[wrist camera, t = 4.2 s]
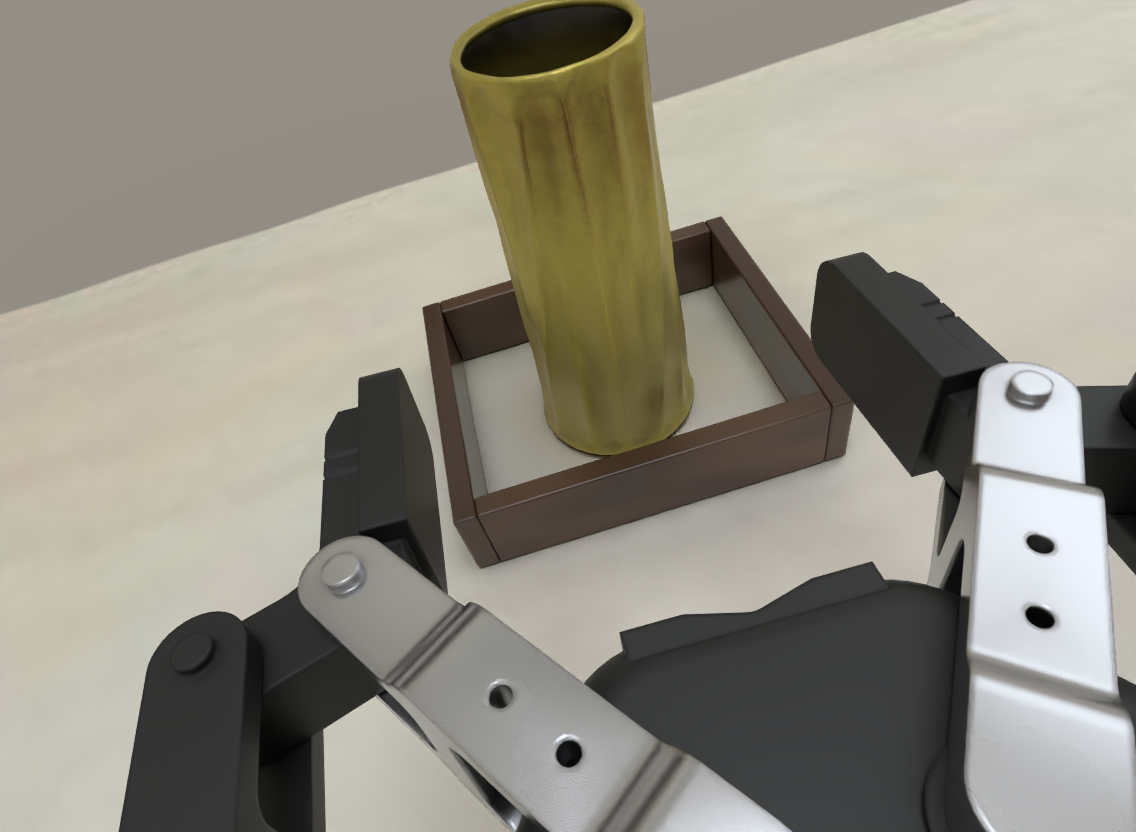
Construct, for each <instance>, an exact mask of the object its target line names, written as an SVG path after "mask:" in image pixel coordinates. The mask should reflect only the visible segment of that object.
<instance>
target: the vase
mask: <svg viewBox="0 0 1136 832" xmlns="http://www.w3.org/2000/svg"><path fill="white" fill-rule="evenodd" d="M646 48H647V47H646V39H645V16H644V11H643V10H642V8H641V7H640V6H639V5H638V4H637V3H636V2H635V1H633V0H530V1H526V2H523V3H520V4H517V5H514V6H511V7H508V8H506V9H503V10H501V11H499V12H496V13H494V14H492V15H490V16H489V17H487V18H485V19H483V20H482V21H480V22H478V23H476V24H475V25H473V26H472V27H470V28H469V29H468V30H466V31H465V32H464V33H463V34H462V35H461V36H460V37H459V38H458V39H457V41H456V42H455V45H454V46H453V49H452V52H451V55H450V68H451V73H452V77H453V81H454V84H455V87H456V90H457V93H458V97H459V99H460V103H461V107H462V111H463V114H464V117H465V121H466V124H467V128H468V132H469V135H470V138H471V142H472V145H473V149H474V152H475V156H476V159H477V162H478V166H479V169H480V172H481V176H482V179H483V182H484V186H485V189H486V192H487V195H488V198H489V201H490V204H491V207H492V210H493V212H494V215H495V219H496V222H497V225H498V229H499V234H500V238H501V242H502V246H503V250H504V254H505V258H506V262H507V265H508V269H509V273H510V277H511V280H512V284H513V287H514V291H515V295H516V298H517V302H518V306H519V310H520V313H521V317H522V320H523V323H524V327H525V330H526V333H527V336H528V338H529V341H530V345H531V348H532V351H533V355H534V359H535V363H536V367H537V371H538V375H539V379H540V382H541V386H542V391H543V397H544V405H545V416H546V419H547V422H548V423H549V425H550V427H551V429H552V430H553V431H554V433H555V434H556V435H557V436H558V437H559V438H560V439H561V440H563V441H564V442H565V443H567V444H568V445H570V446H572V447H574V448H576V449H578V450H581V451H584V452H587V453H592V454H599V455H616V454H619V453H623V452H626V451H629V450H632V449H636V448H639V447H642V446H645V445H649V444H652V443H655V442H658V441H662V440H664V439H666V438H667V437H669V436H670V435H671V434H672V433H673V432H675V431H676V430H677V429H678V428H679V426H680V425H681V424H682V423H683V421H684V420H685V418H686V417H687V415H688V413H689V411H690V408H691V405H692V401H693V380H692V377H691V375H690V373H689V370H688V365H687V349H686V338H685V329H684V321H683V315H682V308H681V302H680V296H679V290H678V285H677V279H676V273H675V268H674V258H673V247H672V239H671V234H670V228H669V221H668V213H667V205H666V198H665V192H664V186H663V180H662V174H661V167H660V160H659V153H658V146H657V139H656V132H655V124H654V116H653V107H652V97H651V86H650V76H649V66H648V57H647V49H646Z"/></svg>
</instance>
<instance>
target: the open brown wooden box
mask: <svg viewBox="0 0 1136 832" xmlns="http://www.w3.org/2000/svg"><path fill="white" fill-rule="evenodd" d="M670 234H671V239H672V247H673V258H674V268H675V273H676V279H677V285H678V290H679V295H680V294H683V293H687V292H690V291H693V290H697V289H700V288H703V287H706V286H710V285H712V283H713V284H714V286H715V287H716V289H717V291H718V292H719V294H720V295H721V297H722V298H723V300H724V302H725V303H726V305H727V306H728V308H729V310H730V311H731V313H732V314H733V316H734V317H735V319H736V321H737V322H738V324H739V325H740V327H741V329H742V330H743V332H744V333H745V335H746V336H747V338H748V340H749V341H750V343H751V344H752V346H753V348H754V349H755V351H756V352H757V354H758V355H759V357H760V359H761V360H762V362H763V363H764V365H765V367H766V368H767V370H768V371H769V373H770V374H771V376H772V378H773V379H774V381H775V382H776V384H777V386H778V387H779V389H780V390H781V392H782V393H783V395H784V397H785V398H786V400H787V401H788V402H785V403H781V404H778V405H775V406H772V407H768V408H765V409H762V410H759V411H756V412H752V413H749V414H746V415H743V416H739V417H736V418H733V419H730V420H726V421H723V422H720V423H717V424H713V425H710V426H707V427H704V428H700V429H697V430H694V431H691V432H687V433H684V434H681V435H678V436H675V437H671V438H668V439H665V440H662V441H658V442H655V443H652V444H649V445H645V446H642V447H639V448H636V449H632V450H629V451H626V452H623V453H619V454H616V455H613V456H610V457H606V458H603V459H600V460H597V461H594V462H590V463H587V464H584V465H581V466H577V467H574V468H571V469H568V470H564V471H561V472H558V473H555V474H551V475H548V476H545V477H542V478H538V479H535V480H532V481H529V482H525V483H522V484H519V485H516V486H513V487H509V488H506V489H503V490H500V491H496V492H493V493H490V494H487V489H486V483H485V478H484V473H483V468H482V463H481V457H480V452H479V447H478V442H477V436H476V431H475V426H474V421H473V415H472V410H471V405H470V400H469V395H468V389H467V384H466V379H465V374H464V368H463V363H462V360H463V361H464V360H468V359H471V358H474V357H477V356H481V355H484V354H487V353H491V352H494V351H497V350H500V349H504V348H507V347H510V346H513V345H517V344H520V343H523V342H526V341H529V338H528V336H527V333H526V330H525V327H524V323H523V320H522V317H521V313H520V310H519V306H518V302H517V298H516V295H515V291H514V287H513V284H512V280H510V281H507V282H503V283H500V284H497V285H494V286H490V287H487V288H484V289H480V290H477V291H474V292H471V293H467V294H464V295H461V296H457V297H454V298H451V299H448V300H444V301H441V302H440V303H439V302H438V303H434V304H431V305H428V306H425V307H423V316H424V323H425V330H426V337H427V344H428V351H429V358H430V364H431V371H432V378H433V385H434V392H435V399H436V406H437V413H438V420H439V427H440V434H441V441H442V448H443V455H444V462H445V469H446V476H447V482H448V489H449V496H450V503H451V510H452V517H453V524H454V525H455V527H456V529H457V531H458V532H459V534H460V536H461V537H462V539H463V541H464V543H465V544H466V546H467V548H468V549H469V551H470V553H471V554H472V556H473V558H474V560H475V561H476V563H477V565H478V566H479V567H480V568H482V567H485V566H488V565H491V564H495V563H498V562H500V560H501V561H504V560H508V559H511V558H514V557H517V556H520V555H524V554H527V553H530V552H533V551H537V550H540V549H543V548H546V547H550V546H553V545H556V544H559V543H562V542H566V541H569V540H572V539H575V538H579V537H582V536H585V535H588V534H591V533H595V532H598V531H601V530H604V529H608V528H611V527H614V526H617V525H620V524H624V523H627V522H630V521H633V520H637V519H640V518H643V517H646V516H649V515H653V514H656V513H659V512H662V511H666V510H669V509H672V508H675V507H678V506H682V505H685V504H688V503H691V502H695V501H698V500H701V499H704V498H708V497H711V496H714V495H717V494H720V493H724V492H727V491H730V490H733V489H737V488H740V487H743V486H746V485H749V484H753V483H756V482H759V481H762V480H766V479H769V478H772V477H775V476H778V475H782V474H785V473H788V472H791V471H795V470H798V469H801V468H804V467H807V466H811V465H814V464H817V463H820V462H823V461H824V460H830V459H833V458H836V457H839V456H843V455H844V454H845V452H846V447H847V441H848V436H849V430H850V424H851V419H852V413H853V408H854V403H853V401H852V400H851V399H850V398H849V396H848V395H847V394H846V392H845V391H844V390H843V389H842V387H841V386H840V385H839V384H838V382H837V381H836V380H835V378H834V377H833V376H832V375H831V373H830V372H829V371H828V369H827V368H826V367H825V366H824V364H823V363H822V362H821V361H820V359H819V358H818V356H817V354H816V352H815V350H814V347H813V344H812V340H811V339H810V338H809V336H808V335H807V333H806V332H805V331H804V329H803V328H802V327H801V325H800V324H799V322H798V321H797V320H796V318H795V317H794V316H793V314H792V313H791V311H790V310H789V309H788V307H787V306H786V305H785V303H784V302H783V300H782V299H781V298H780V296H779V295H778V294H777V292H776V291H775V289H774V288H773V287H772V285H771V284H770V282H769V281H768V280H767V278H766V277H765V276H764V274H763V273H762V271H761V270H760V269H759V267H758V266H757V265H756V263H755V262H754V260H753V259H752V258H751V256H750V255H749V254H748V252H747V251H746V249H745V248H744V247H743V245H742V244H741V243H740V241H739V240H738V238H737V237H736V236H735V234H734V233H733V232H732V230H731V229H730V227H729V226H728V225H727V223H726V222H725V221H724V219H723V218H722V217H717V218H714V219H711V220H707V221H705V222H700V223H697V224H694V225H691V226H687V227H684V228H681V229H677V230H674V231H671V232H670Z"/></svg>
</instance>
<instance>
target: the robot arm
mask: <svg viewBox="0 0 1136 832" xmlns="http://www.w3.org/2000/svg"><path fill="white" fill-rule="evenodd" d="M811 339H812V344H813V347H814V350H815V352H816V354H817V356H818V358H819V359H820V361H821V362H822V363H823V364H824V366H825V367H826V368H827V369H828V371H829V372H830V373H831V375H832V376H833V377H834V378H835V380H836V381H837V382H838V384H839V385H840V386H841V387H842V389H843V390H844V391H845V392H846V394H847V395H848V396H849V398H850V399H851V400H852V401H853V403H854V404H855V405H856V406H857V408H858V409H859V410H860V412H861V413H862V414H863V415H864V417H865V418H866V419H867V420H868V422H869V423H870V424H871V426H872V427H873V428H874V429H875V431H876V432H877V433H878V434H879V436H880V437H881V438H882V440H883V441H884V442H885V443H886V445H887V446H888V447H889V448H890V450H891V451H892V452H893V454H894V455H895V456H896V457H897V459H898V460H899V461H900V463H901V464H902V465H903V466H904V468H905V469H906V470H907V471H908V473H909V474H910V475H911V477H914V476H917V475H921V474H925V473H928V472H932V471H936V470H937V471H938V472H939V473H940V474H941V475H942V477H943V478H944V479H943V482H942V485H941V488H940V493H939V502H938V510H937V518H936V526H935V535H934V543H933V551H932V559H931V567H930V573H929V578H928V582H927V585H926V584H921V583H915V582H910V581H900V580H884V579H883V577H882V576H881V574H880V573H879V571H878V570H877V568H876V566H875V565H874V563H873V562H869V563H865V564H861V565H858V566H854V567H851V568H847V569H844V570H840V571H836V572H833V573H829V574H826V575H822V576H819V577H815V578H811V579H810V580H808V581H806V582H805V583H803V584H801V585H800V586H798V587H796V588H794V589H793V590H791V591H789V592H788V593H786V594H784V595H783V596H781V597H779V598H778V599H776V600H774V601H773V602H771V603H769V604H768V605H766V606H764V607H762V608H761V609H759V610H757V611H753V612H744V613H715V614H685V615H679V616H676V617H672V618H669V619H665V620H662V621H658V622H654V623H651V624H647V625H644V626H640V627H637V628H633V629H629V630H626V631H622V632H620V638H621V643H622V648H623V651H622V652H621V653H619V654H617V655H616V656H614V657H612V658H611V659H609V660H608V661H607V662H606V663H604V664H603V665H602V666H600V667H599V668H598V669H597V670H596V671H595V672H594V673H593V674H592V675H591V676H590V677H589V678H588V679H587V680H586V682H585V683H583V682H581V681H580V680H579V679H577V678H576V677H575V676H573V675H572V674H571V673H569V672H568V671H567V670H565V669H564V668H563V667H561V666H560V665H559V664H557V663H556V662H555V661H553V660H552V659H551V658H549V657H548V656H547V655H545V654H544V653H543V652H542V651H540V650H539V649H538V648H536V647H535V646H534V645H532V644H531V643H530V642H528V641H527V640H526V639H524V638H523V637H522V636H520V635H519V634H518V633H516V632H515V631H514V630H512V629H511V628H510V627H508V626H507V625H506V624H504V623H503V622H502V621H501V620H499V619H498V618H497V617H495V616H494V615H493V614H491V613H490V612H489V611H487V610H486V609H484V608H483V607H481V606H480V605H478V604H476V603H473V602H469V603H468V604H467V605H466V606H464V605H461V604H460V603H458V602H457V601H455V600H454V599H453V598H451V597H450V596H449V595H448V591H447V581H446V572H445V563H444V554H443V544H442V535H441V526H440V517H439V507H438V498H437V489H436V480H435V471H434V461H433V454H432V449H431V444H430V441H429V437H428V434H427V430H426V428H425V425H424V423H423V420H422V418H421V415H420V413H419V410H418V408H417V405H416V403H415V401H414V398H413V396H412V393H411V391H410V388H409V386H408V383H407V381H406V379H405V376H404V374H403V372H402V370H401V369H400V368H396V369H392V370H388V371H384V372H380V373H376V374H372V375H368V376H365V377H361V378H359V382H358V407H356V408H352V409H348V410H344V411H340V412H338V413H337V415H336V417H335V418H334V420H333V422H332V424H331V426H330V428H329V429H328V431H327V433H326V436H325V456H324V457H325V462H324V478H325V480H323V496H322V516H321V535H320V549H319V552H317V553H316V554H315V555H314V556H313V557H312V558H311V560H310V561H309V562H308V563H307V565H306V566H305V568H304V570H303V571H302V574H301V576H300V579H299V583H298V586H297V587H296V588H295V589H294V590H293V591H292V592H290V593H289V594H288V595H286V596H285V597H283V598H281V599H280V600H278V601H276V602H275V603H273V604H271V605H269V606H268V607H266V608H264V609H262V610H260V611H259V612H257V613H255V614H253V615H252V616H250V617H248V618H246V619H245V620H243V621H241V620H240V619H239V618H238V617H236V616H234V615H233V614H230V613H227V612H219V611H216V612H208V613H204V614H201V615H198V616H196V617H193V618H191V619H189V620H188V621H186V622H184V623H183V624H181V625H180V626H178V627H177V628H176V629H174V630H173V631H172V632H171V633H170V634H169V635H168V636H167V637H166V638H165V639H164V640H163V641H162V642H161V644H160V645H159V646H158V647H157V649H156V651H155V652H154V654H153V656H152V658H151V660H150V662H149V665H148V668H147V672H146V677H145V683H144V689H143V695H142V700H141V706H140V712H139V718H138V724H137V729H136V735H135V741H134V747H133V752H132V758H131V764H130V770H129V775H128V781H127V787H126V793H125V799H124V804H123V810H122V816H121V822H120V827H119V832H326V823H325V782H324V741H323V729H324V728H326V727H327V726H329V725H331V724H332V723H334V722H335V721H337V720H338V719H340V718H342V717H343V716H345V715H346V714H348V713H349V712H351V711H353V710H354V709H356V708H357V707H359V706H360V705H362V704H364V703H365V702H367V701H368V700H370V699H371V698H373V697H375V696H376V697H377V698H378V699H379V700H380V701H381V702H382V703H383V704H384V705H385V706H386V707H387V708H388V709H389V710H390V711H391V712H392V713H393V714H394V715H395V716H396V717H397V718H398V719H399V720H400V721H401V722H402V723H403V724H404V725H405V726H406V727H408V728H409V729H410V730H411V731H412V732H413V733H414V734H415V735H416V736H417V737H418V738H419V739H420V740H421V741H422V742H423V743H424V744H425V745H426V746H427V747H428V748H429V749H430V750H431V751H432V752H433V753H434V754H435V755H436V756H437V757H438V758H439V759H440V760H441V761H442V762H443V763H444V764H445V765H446V766H447V767H448V768H449V769H450V770H451V771H452V772H453V773H454V775H455V776H456V777H457V778H458V779H459V780H460V781H461V782H462V784H463V785H464V786H465V787H466V788H467V789H468V790H469V791H470V792H471V793H472V794H473V795H474V796H475V797H476V798H477V799H478V800H479V801H480V802H481V803H482V804H483V805H484V806H485V807H486V808H487V809H488V810H489V811H490V812H491V813H492V814H493V815H494V816H495V817H496V818H497V819H498V820H499V821H500V822H501V823H502V824H503V825H504V826H505V827H506V828H507V829H509V830H510V831H511V832H1136V685H1135V684H1133V683H1131V682H1129V681H1127V680H1125V679H1123V678H1121V677H1119V676H1117V667H1116V653H1115V638H1114V624H1113V610H1112V596H1111V582H1110V568H1109V554H1108V544H1109V545H1110V546H1111V547H1112V549H1113V550H1114V551H1115V552H1116V553H1117V554H1118V555H1119V557H1120V558H1121V559H1122V560H1123V561H1124V562H1125V563H1126V564H1127V566H1128V567H1129V568H1130V569H1131V570H1132V571H1133V572H1134V573H1135V575H1136V372H1135V374H1134V376H1133V378H1132V379H1131V381H1130V383H1129V385H1128V386H1075V385H1074V383H1073V382H1071V381H1070V380H1069V379H1068V378H1067V377H1065V376H1064V375H1062V374H1061V373H1059V372H1057V371H1055V370H1053V369H1051V368H1048V367H1045V366H1042V365H1038V364H1034V363H1028V362H1008V361H1007V360H1006V359H1005V358H1004V357H1003V356H1002V355H1000V354H999V353H998V352H997V351H996V350H995V349H994V348H993V347H992V346H990V345H989V344H988V343H987V342H986V341H985V340H984V339H983V338H982V337H981V336H979V335H978V334H977V333H976V332H975V331H974V330H973V329H972V328H971V327H970V326H968V325H967V324H966V323H965V322H964V321H963V320H962V319H961V318H960V317H959V316H958V317H955V313H954V312H953V311H952V310H951V309H950V308H949V307H948V306H946V305H945V304H944V303H940V299H939V298H938V297H936V296H935V295H934V294H933V293H932V292H931V291H930V290H929V289H928V288H927V287H925V286H924V285H923V284H922V283H920V282H918V281H916V280H914V279H911V278H909V277H907V276H905V275H903V274H900V273H898V272H896V271H894V272H891V273H887V272H886V271H885V270H884V269H883V268H882V267H881V266H880V265H879V264H878V263H877V262H876V261H875V260H874V259H873V258H872V257H870V256H869V255H868V254H866V253H864V252H861V253H856V254H852V255H848V256H845V257H841V258H837V259H833V260H829V261H825V262H823V263H822V264H821V265H820V267H819V269H818V273H817V280H816V288H815V296H814V304H813V312H812V320H811Z"/></svg>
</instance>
